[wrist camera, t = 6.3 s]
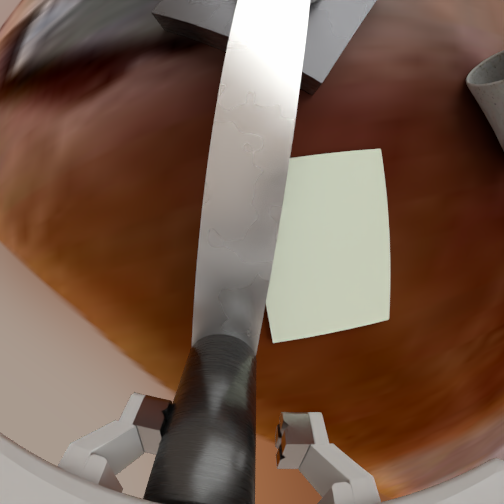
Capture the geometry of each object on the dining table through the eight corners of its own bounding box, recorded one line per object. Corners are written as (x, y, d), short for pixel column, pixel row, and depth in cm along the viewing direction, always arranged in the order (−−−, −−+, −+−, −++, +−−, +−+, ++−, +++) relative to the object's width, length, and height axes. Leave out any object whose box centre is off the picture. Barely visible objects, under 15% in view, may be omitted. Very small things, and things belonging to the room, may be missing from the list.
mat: (241, 166, 15) (240, 166, 15) (378, 148, 14) (380, 148, 14) (272, 339, 18) (272, 343, 18) (386, 316, 17) (388, 319, 17)
